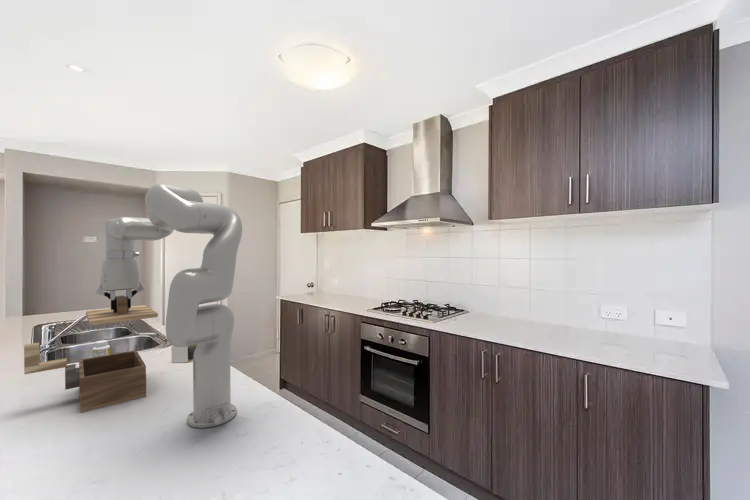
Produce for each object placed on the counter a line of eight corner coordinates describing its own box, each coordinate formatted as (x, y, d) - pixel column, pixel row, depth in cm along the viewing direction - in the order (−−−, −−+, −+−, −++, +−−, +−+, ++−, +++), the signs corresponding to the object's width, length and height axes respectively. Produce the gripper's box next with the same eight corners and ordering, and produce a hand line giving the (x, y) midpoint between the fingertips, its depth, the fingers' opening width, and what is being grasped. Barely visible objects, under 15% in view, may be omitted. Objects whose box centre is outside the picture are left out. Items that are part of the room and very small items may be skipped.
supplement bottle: (104, 363, 141) (104, 339, 141) (113, 365, 139) (113, 340, 139) (89, 368, 136) (89, 342, 136) (98, 370, 134) (98, 343, 134)
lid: (157, 317, 111) (157, 298, 111) (89, 325, 100) (89, 304, 100) (145, 308, 128) (145, 291, 128) (85, 314, 117) (85, 296, 117)
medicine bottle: (188, 362, 142) (188, 334, 142) (171, 362, 142) (171, 334, 142) (197, 357, 149) (197, 329, 149) (181, 357, 149) (181, 329, 149)
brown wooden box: (146, 396, 110) (145, 362, 110) (64, 416, 97) (64, 377, 97) (136, 377, 126) (136, 347, 126) (66, 392, 113) (65, 359, 113)
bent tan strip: (66, 367, 104) (66, 340, 104) (24, 374, 98) (24, 346, 98) (66, 364, 106) (66, 338, 106) (25, 371, 101) (25, 344, 100)
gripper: (147, 255, 122) (147, 306, 122) (88, 256, 111) (88, 313, 111) (150, 255, 117) (151, 309, 117) (89, 256, 106) (90, 316, 106)
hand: (121, 310), depth 114 cm, fingers closed on lid, 2 cm apart
